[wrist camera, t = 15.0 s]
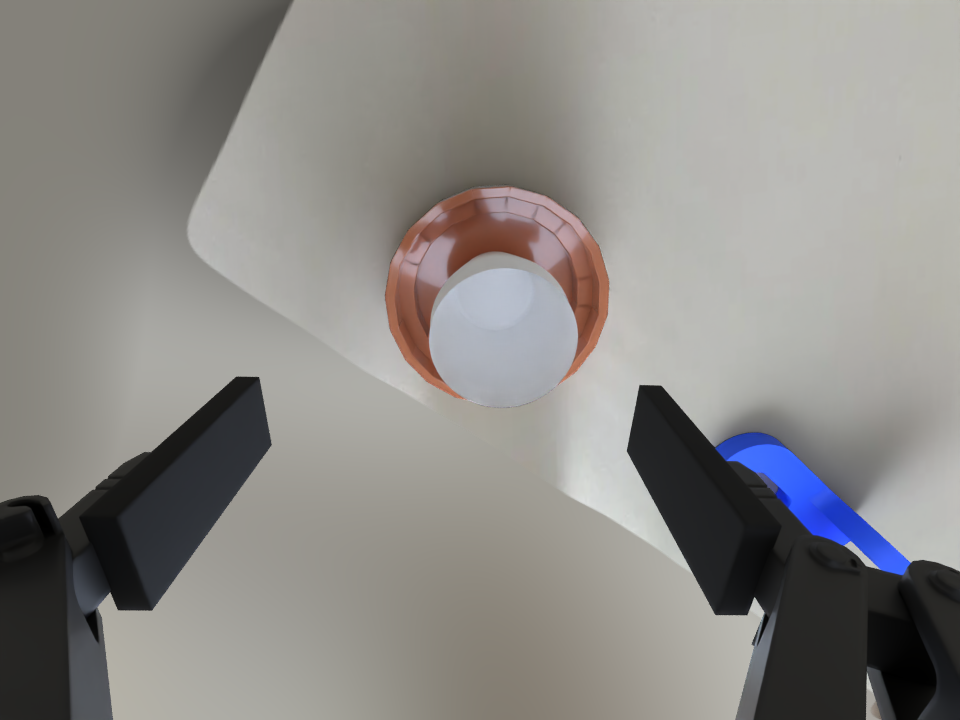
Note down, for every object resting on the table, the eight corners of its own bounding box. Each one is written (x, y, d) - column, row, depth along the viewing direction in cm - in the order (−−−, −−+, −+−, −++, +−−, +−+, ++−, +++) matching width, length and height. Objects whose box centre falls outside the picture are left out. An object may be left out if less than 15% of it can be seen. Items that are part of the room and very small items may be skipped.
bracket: (854, 513, 47) (934, 586, 39) (787, 558, 50) (849, 635, 42) (754, 417, 43) (821, 476, 34) (685, 471, 45) (733, 539, 37)
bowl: (363, 319, 38) (348, 339, 34) (461, 140, 33) (459, 135, 29) (520, 407, 42) (526, 436, 37) (632, 258, 37) (655, 270, 32)
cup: (569, 305, 38) (608, 361, 26) (480, 361, 39) (482, 434, 28) (511, 212, 35) (529, 231, 24) (418, 276, 36) (394, 322, 25)
